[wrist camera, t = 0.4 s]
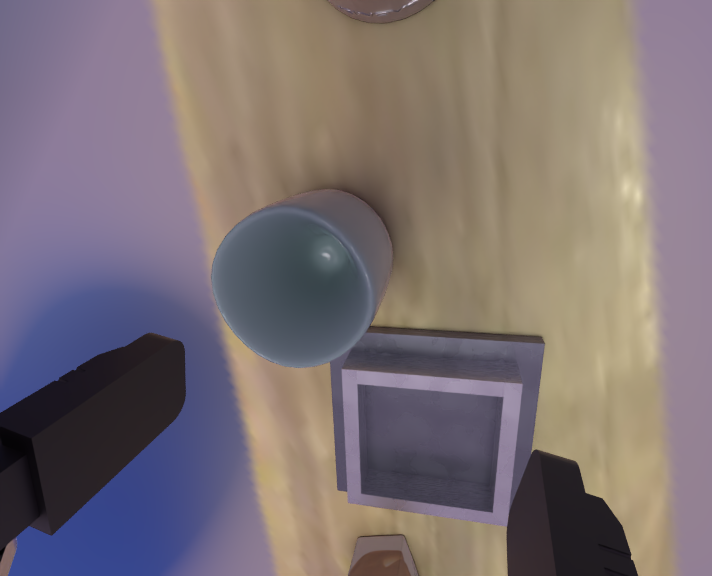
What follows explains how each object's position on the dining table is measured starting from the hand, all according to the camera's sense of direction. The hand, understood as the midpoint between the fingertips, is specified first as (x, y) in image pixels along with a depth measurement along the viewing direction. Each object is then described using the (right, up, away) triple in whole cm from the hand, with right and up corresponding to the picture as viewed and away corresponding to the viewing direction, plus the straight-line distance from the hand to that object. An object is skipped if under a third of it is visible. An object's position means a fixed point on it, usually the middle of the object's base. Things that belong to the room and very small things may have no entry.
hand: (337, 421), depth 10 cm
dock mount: (+6, -7, +22) cm, 24 cm away
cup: (0, +6, +19) cm, 20 cm away
